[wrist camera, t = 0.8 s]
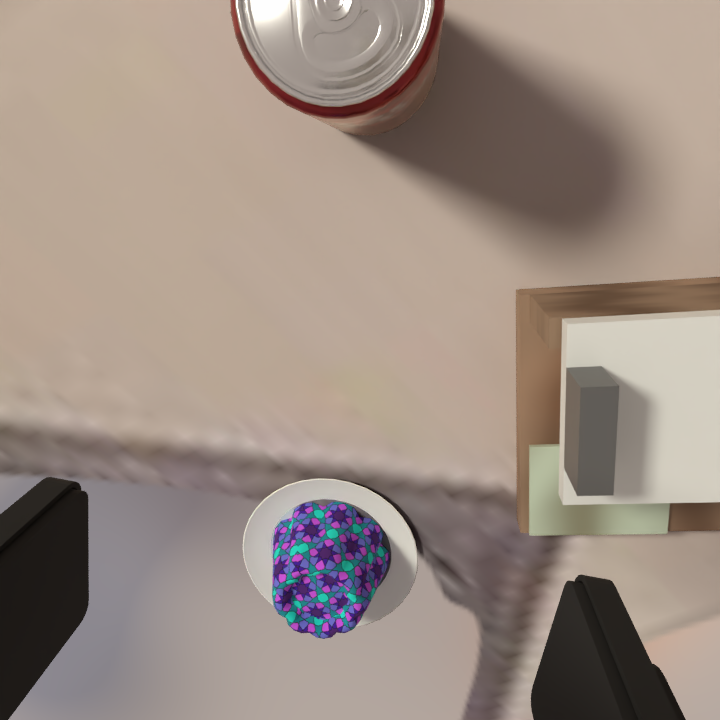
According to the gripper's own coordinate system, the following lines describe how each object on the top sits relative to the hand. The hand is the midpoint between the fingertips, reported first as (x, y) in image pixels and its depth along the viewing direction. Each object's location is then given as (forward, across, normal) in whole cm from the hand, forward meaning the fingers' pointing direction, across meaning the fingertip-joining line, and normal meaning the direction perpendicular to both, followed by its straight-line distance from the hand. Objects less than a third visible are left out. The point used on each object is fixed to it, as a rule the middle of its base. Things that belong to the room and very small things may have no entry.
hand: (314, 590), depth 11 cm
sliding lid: (+17, -13, +1) cm, 22 cm away
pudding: (+25, +1, +18) cm, 31 cm away
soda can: (+24, +3, -13) cm, 28 cm away
